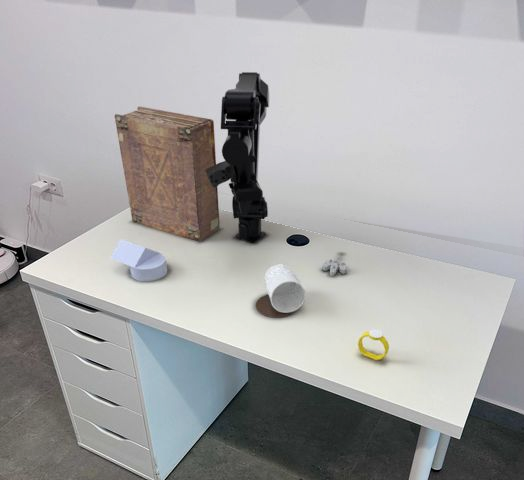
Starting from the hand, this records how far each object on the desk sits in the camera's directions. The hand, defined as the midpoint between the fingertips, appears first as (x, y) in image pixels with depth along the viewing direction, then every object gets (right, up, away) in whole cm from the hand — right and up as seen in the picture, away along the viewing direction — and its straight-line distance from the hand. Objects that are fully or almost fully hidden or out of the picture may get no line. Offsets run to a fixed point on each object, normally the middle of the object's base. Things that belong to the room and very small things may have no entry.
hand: (243, 215), depth 133 cm
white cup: (+8, -16, -7) cm, 20 cm away
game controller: (+24, -12, +4) cm, 27 cm away
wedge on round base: (-26, -13, +3) cm, 29 cm away
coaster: (+8, -23, -10) cm, 27 cm away
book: (-21, +3, +23) cm, 31 cm away
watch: (+27, -35, -25) cm, 50 cm away
